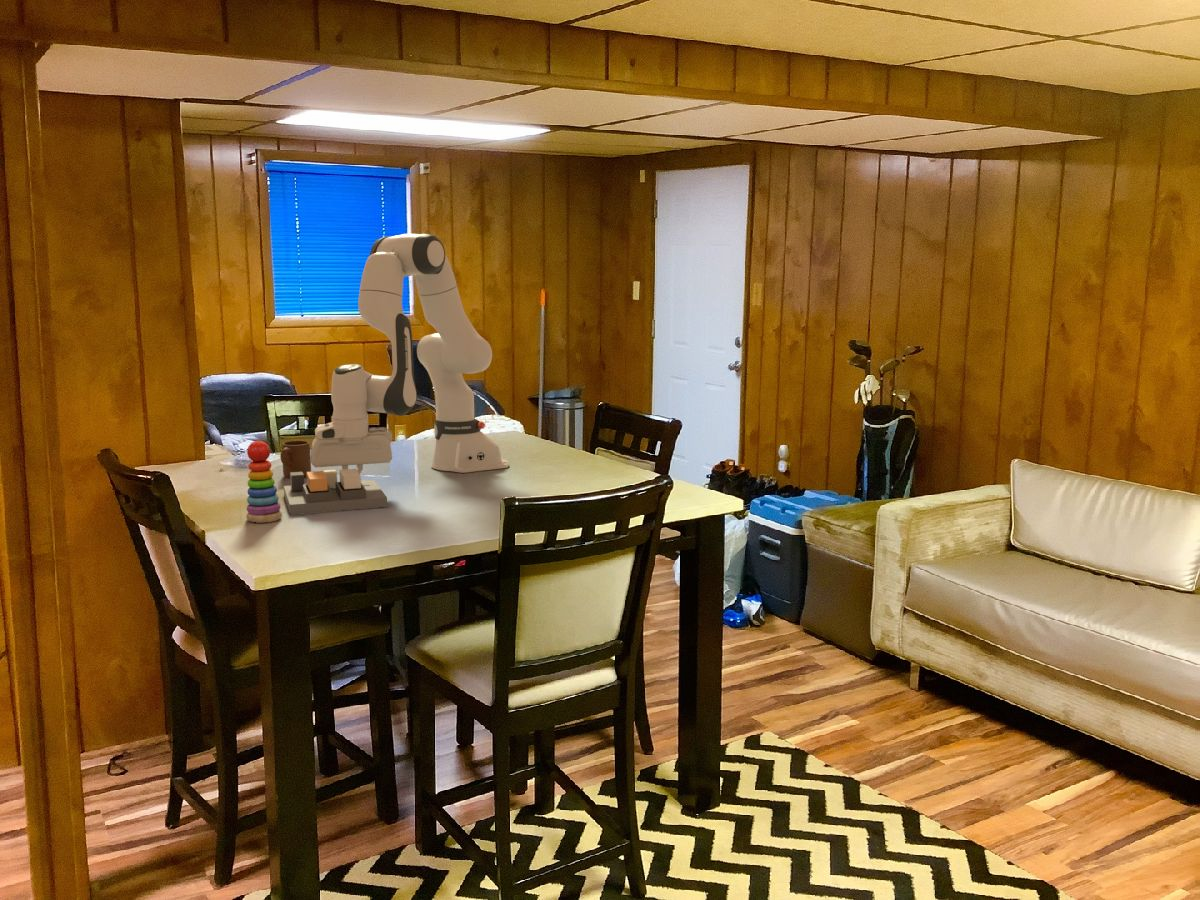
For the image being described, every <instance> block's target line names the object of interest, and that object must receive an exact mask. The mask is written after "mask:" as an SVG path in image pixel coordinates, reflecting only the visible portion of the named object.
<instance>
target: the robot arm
mask: <svg viewBox="0 0 1200 900" xmlns="http://www.w3.org/2000/svg"><path fill="white" fill-rule="evenodd" d="M445 249H446V248H445V247H444V245H443V242H442V241H441V240H440V238H438V237H437V236H436V235H434V234H429V233H421V234H420V233H403V234H398V235H394V236H388V235H386V236H384V237H381V238H378V239H377V240H376V241H374V243H373V244H372V245H371V248H370V251H369V256H368V258H367V259H366V261H365V265H364V268H363V271H362V274H361V281H360V287H359V291H358V293H359V294H358V303H357V304H358V312H359V315H360V316H361V318H362V319H363V320H364V322H365V323H366V324H368V326H370V327H371V328H373V329H375V330H377V331H379V332H381V333H383V334H385V336H386V337H387V338H388V340H389V341H390V343H391V361H392V364H391V365H392V373H391V375H377V374H372V373H370V372H368V371H365V370H364V367H363V366H362V365H361V364H357V363H350V364H349V363H348V364H343V365H340V366H337V367H336V368H334V370H333V371H332V374H331V375H332V376H331V387H330V389H331V390H330V392H331V393H330V396H331V403H332V406H333V407H332V408H333V412H332V416H331V417H332V418H331V419H332V421H331V422H328V423H325V424H322V425H320V426H317V427H316V428H314V434H315V437H314V438H313V440H312V443H311V447H310V455H311V466H313V467H314V468H327V467H341V470H346V469H349V466H356V470H357V471H358V473H359V474H360V475H361V473H362V471H363V469H364V465H371V464H386V463H387V464H388V463H390V462H392V460H393V452H392V447H391V443H392V441H393V433H392V431H391V430H390V429H389V428H387V427H385V426H383V427H382V426H381V427H369V415H368V412H372V413H382V414H388V415H393V416H398V417H402V416H405V415H406V414H408V413H409V412H411V410H412V409H413V408H414V407H415V405H416V404H417V400H418V391H417V386H416V381H415V372H414V370H415V369H414V368H415V367H414V350H413V348H414V347H413V344H414V343H413V331H412V324H411V320H410V319H409V318H408V317H407V315H405V312H404V310H403V309H404V308H403V294H404V293H403V291H404V279H405V277H412V276H413V277H414V279H415V285H416V289H417V294H418V298H419V300H420V301H419V302H420V306H421V307H422V312H423V315H424V319H425V320H426V322H427V323H428V324H429V325H430V326H432V327H433V328H434V329H435V331H436V333H435V332H434V333H431V334H427V335H424V336H423V337H421V339H420V340H419V342H417V343H418V344H417V346H416V355H417V356H416V357H417V359H418V361H419V363H420V364H421V365H423V367H424V368H425V370H426V371H427V373H428V376H429V378H430V380H431V383H432V387H433V392H434V397H435V417H436V418H435V419H434V427H433V428H434V431H433V432H434V439H435V444H434V445H435V447H434V448H435V449H434V455H433V460H432V463H431V468H432V469H435V470H438V471H445V472H455V473H460V474H462V473H472V472H483V471H492V470H500V469H506V468H508V467H509V466H510V464H509V461H508V460H507V459H505V458H503V457H502V455H501V454H502V453H501V449H500V446H499V445H498V443H497V442H495V441H494V440H493V439H492V438H490V437H489V436H488V435H486V434H485V433H483V431H482V430H483V429H485V428H486V423H485V422H484V421H482V420H478V419H477V418H475V395H474V391H473V390H472V388H471V387H470V386H469V385H468V384H467V383H466V381H465V379H464V375H463V374H467V375H469V374H477V373H481V372H484V371H485V370H487V369H488V368H489V367H490V365H491V362H492V360H493V351H492V350H493V349H492V347H491V345H490V343H489V342H488V341H487V340H486V339H484V337H482V336H481V335H480V334H479V333H478V332H477V330H476V329H475V327H474V326H473V324H472V323H471V321H470V320H469V318H468V316H467V314H466V312H465V310H464V307H463V304H462V299H461V295H460V293H459V288H458V284H457V280H456V278H455V274H454V271H453V268H452V266H451V263H450V261H449V258H448V257H447V255H446V250H445Z"/></svg>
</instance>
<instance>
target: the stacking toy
mask: <svg viewBox="0 0 1200 900" xmlns="http://www.w3.org/2000/svg"><path fill="white" fill-rule="evenodd" d="M246 453H247V456H248V458H249V460H251V461H250V462H249V464H248V469H249V470H250V471H249V472H248V474H247V477H248V480H247V487H249V488H248V489H247V494H248V496H247V497H246V501H247V506H246V511H247V513H246V515H245V516H246V520H247V521H248V522H251V523H254V522H256V524H265V522H267V523H272V522H276V521H278V520H281V518H282V516H283V512H282V510H280V509H281V503H280V502H279V498H280V497H279V494H277V492H278V489H277V487H276V486H275V482H276V481H275V479H274V477H273V476H274V472H273V470H272V469H271V468H272V462H271V461H269V460H268V458H269V457H270V456H271V455H270V454H271V448H270V446H269V445H268V443H266V442H265V441H262V440H255V441H253V442H251V443H250V444H249V445H248V447H247V450H246Z"/></svg>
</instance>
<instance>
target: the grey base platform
mask: <svg viewBox="0 0 1200 900" xmlns="http://www.w3.org/2000/svg"><path fill="white" fill-rule="evenodd" d="M335 483H336V488H331V489H330V487H329V485H328V483H327V490H326V491H312V492H310V489H309V487H308V485H307V483H306V484H305V483H304V484H303V491H292V490H291V485H283V495H284V500H285V503H286V505H287V510H288V512H289V515H290V516H293V515H305V514H307V515H308V514H319V513H331V512H333V511H334V512H343V511H342V510H347V511H355V510H354V509H360V510H368V509H367V508H373V509H379V508H378V507H386V508H388V497H387V496H386V495H385V493H384V491H383V490H382V488H381V487H380V486H379V484H378V483H377V482H376V481H375V479H370V480H369V479H368V480H361V488H355V489H344V488H343V486H342V484H341V482H340V481H337V482H335Z"/></svg>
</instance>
